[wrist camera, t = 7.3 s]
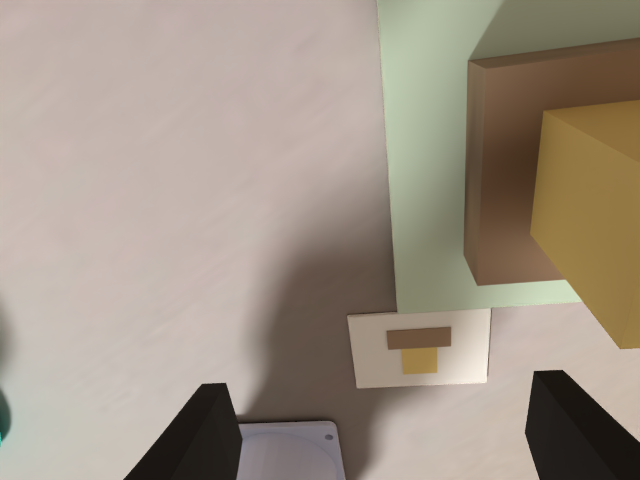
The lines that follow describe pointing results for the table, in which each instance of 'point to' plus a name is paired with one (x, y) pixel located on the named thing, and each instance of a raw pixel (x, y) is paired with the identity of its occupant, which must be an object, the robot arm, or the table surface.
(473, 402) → the table surface
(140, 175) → the table surface
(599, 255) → the top brick
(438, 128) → the build plate
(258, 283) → the table surface
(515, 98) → the base brick
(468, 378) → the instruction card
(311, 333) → the table surface
